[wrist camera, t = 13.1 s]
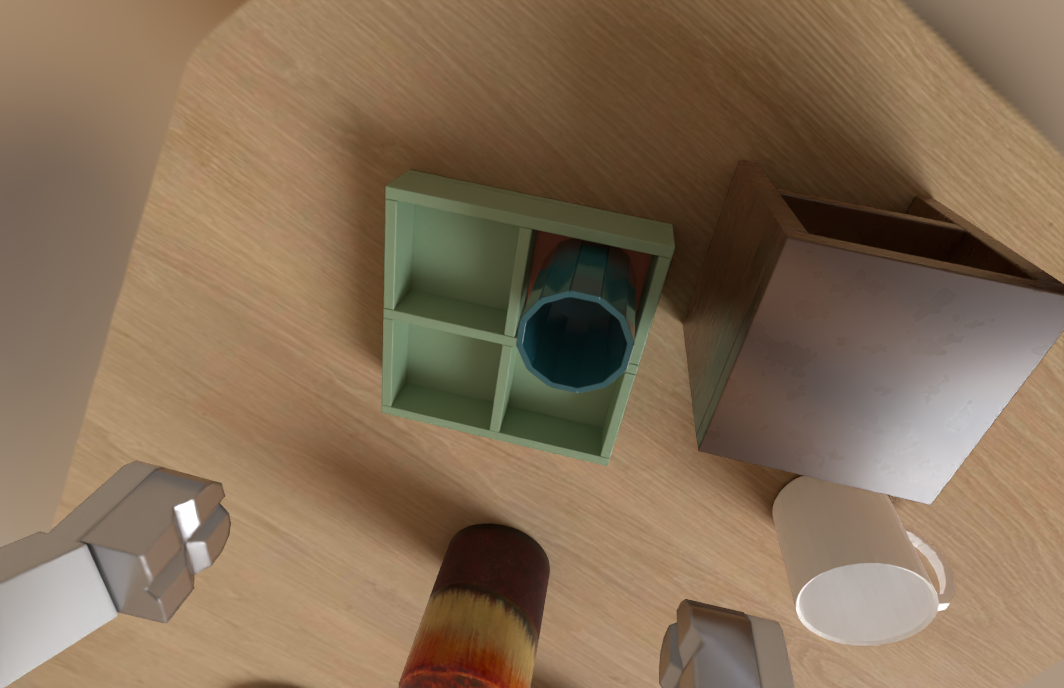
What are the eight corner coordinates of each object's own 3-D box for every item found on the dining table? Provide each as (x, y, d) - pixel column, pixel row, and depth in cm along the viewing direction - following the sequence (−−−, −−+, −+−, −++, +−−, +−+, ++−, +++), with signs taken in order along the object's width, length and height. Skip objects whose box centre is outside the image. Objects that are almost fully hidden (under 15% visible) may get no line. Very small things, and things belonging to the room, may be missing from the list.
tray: (409, 169, 39) (385, 185, 35) (672, 224, 38) (675, 246, 34) (400, 382, 49) (381, 412, 45) (610, 431, 48) (607, 466, 44)
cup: (549, 226, 38) (526, 280, 31) (645, 246, 38) (645, 306, 30) (534, 311, 42) (510, 378, 34) (622, 330, 41) (617, 402, 34)
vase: (435, 568, 61) (352, 789, 44) (468, 507, 55) (388, 734, 38) (525, 607, 62) (479, 839, 44) (567, 551, 56) (533, 793, 39)
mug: (752, 525, 50) (772, 621, 42) (804, 453, 45) (838, 546, 37) (881, 567, 50) (926, 671, 42) (947, 499, 45) (1012, 603, 37)
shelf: (739, 160, 35) (787, 237, 23) (935, 199, 34) (1088, 299, 23) (682, 324, 42) (697, 451, 30) (847, 361, 41) (930, 505, 29)
